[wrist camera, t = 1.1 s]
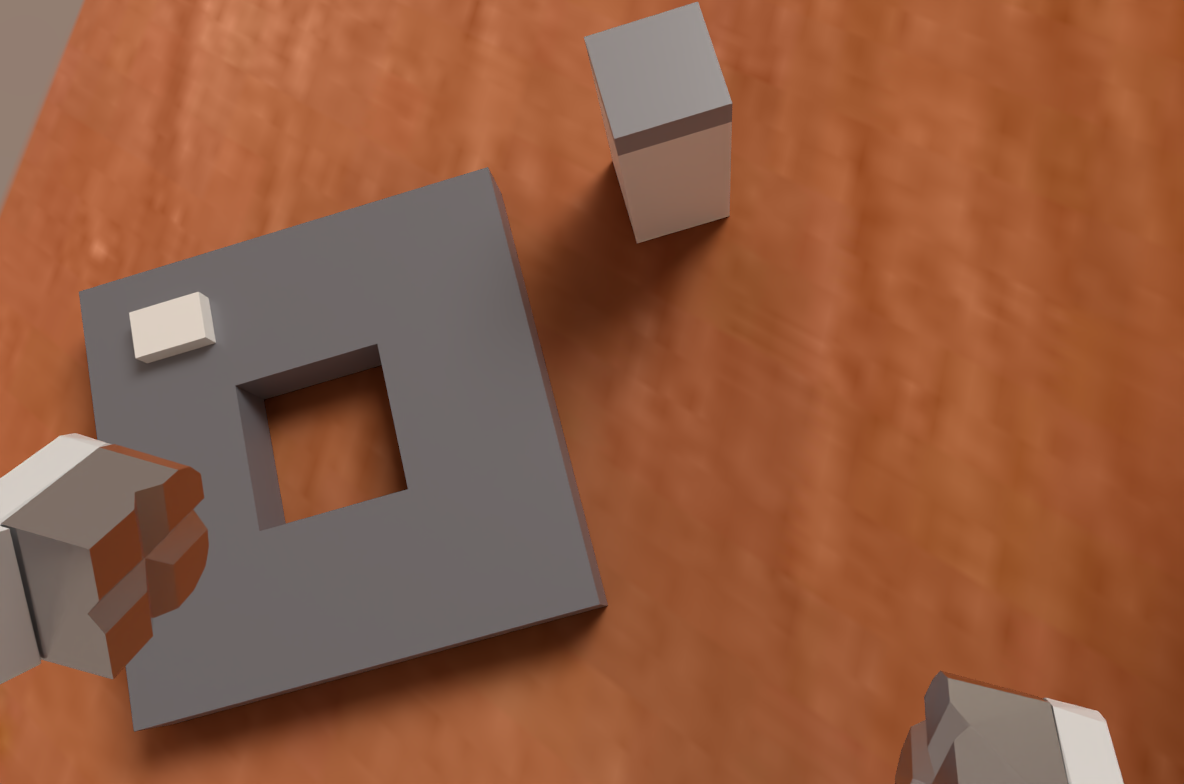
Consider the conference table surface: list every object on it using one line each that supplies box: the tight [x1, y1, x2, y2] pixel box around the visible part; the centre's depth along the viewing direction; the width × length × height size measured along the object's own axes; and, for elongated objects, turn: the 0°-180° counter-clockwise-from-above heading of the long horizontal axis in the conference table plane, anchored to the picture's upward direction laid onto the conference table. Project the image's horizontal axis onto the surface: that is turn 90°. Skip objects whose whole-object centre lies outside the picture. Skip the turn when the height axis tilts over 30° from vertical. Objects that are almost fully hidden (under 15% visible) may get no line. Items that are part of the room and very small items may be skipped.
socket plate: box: [79, 167, 608, 731], centre depth 38 cm, size 18×18×3 cm
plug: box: [584, 2, 732, 243], centre depth 36 cm, size 4×4×9 cm
